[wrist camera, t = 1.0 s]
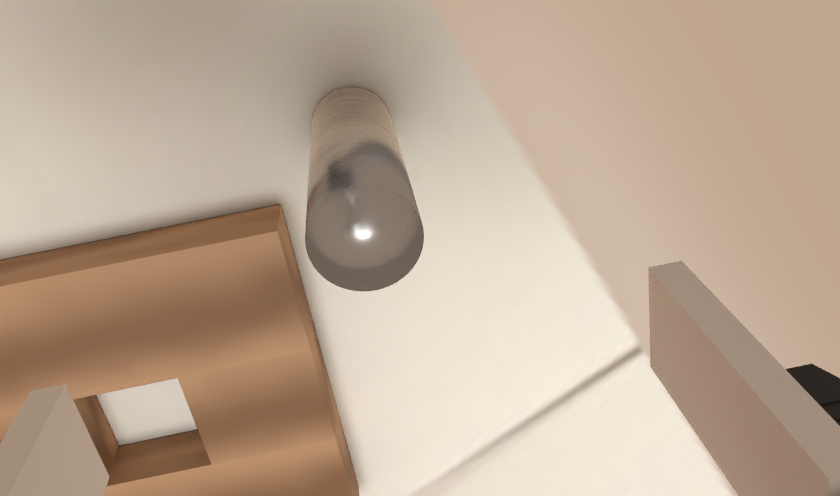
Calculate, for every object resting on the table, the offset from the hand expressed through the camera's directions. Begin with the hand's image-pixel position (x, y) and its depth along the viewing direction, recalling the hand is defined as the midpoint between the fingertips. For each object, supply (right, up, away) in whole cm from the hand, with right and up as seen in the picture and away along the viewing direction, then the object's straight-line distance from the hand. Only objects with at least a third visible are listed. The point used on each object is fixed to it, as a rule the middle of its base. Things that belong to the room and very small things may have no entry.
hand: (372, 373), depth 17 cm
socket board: (-13, -5, +21) cm, 25 cm away
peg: (-2, +8, +17) cm, 19 cm away
